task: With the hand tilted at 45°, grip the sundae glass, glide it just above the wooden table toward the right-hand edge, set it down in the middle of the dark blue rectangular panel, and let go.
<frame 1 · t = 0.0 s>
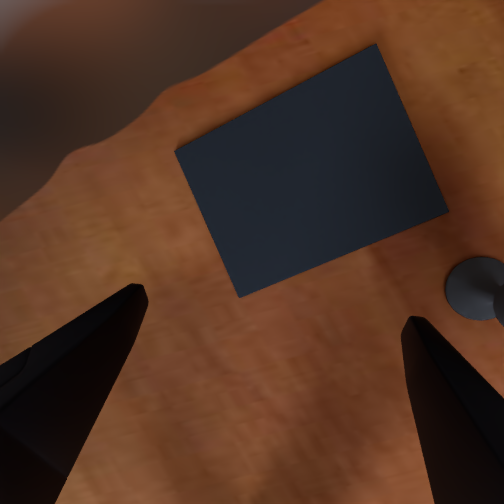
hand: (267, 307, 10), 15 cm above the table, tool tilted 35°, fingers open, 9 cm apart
sundae: (478, 288, 22), on the table
dark blue rectangular panel: (302, 179, 24), on the table
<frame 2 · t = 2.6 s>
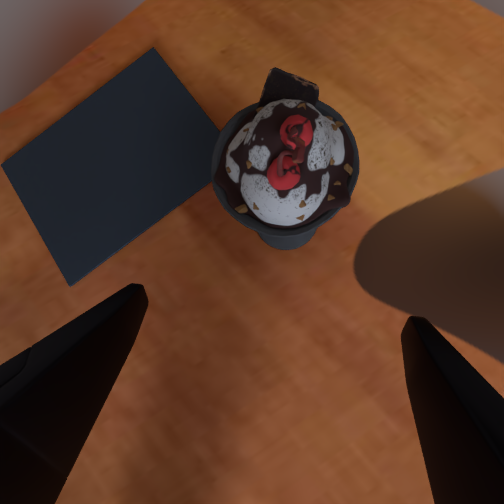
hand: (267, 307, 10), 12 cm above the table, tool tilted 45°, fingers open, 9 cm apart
sundae: (286, 220, 23), on the table
dark blue rectangular panel: (114, 162, 26), on the table
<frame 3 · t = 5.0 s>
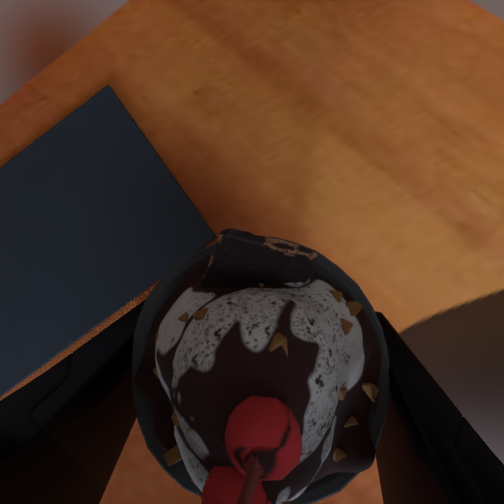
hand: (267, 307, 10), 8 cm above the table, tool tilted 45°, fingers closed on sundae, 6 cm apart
sundae: (275, 323, 17), on the table, touching gripper
dark blue rectangular panel: (55, 235, 20), on the table
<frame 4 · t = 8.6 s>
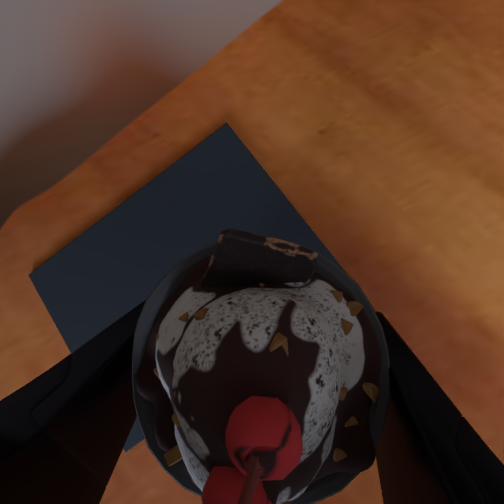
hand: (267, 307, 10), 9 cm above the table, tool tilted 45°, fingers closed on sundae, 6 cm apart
sundae: (275, 323, 17), point 1 cm above the table, touching gripper
dark blue rectangular panel: (179, 279, 19), on the table
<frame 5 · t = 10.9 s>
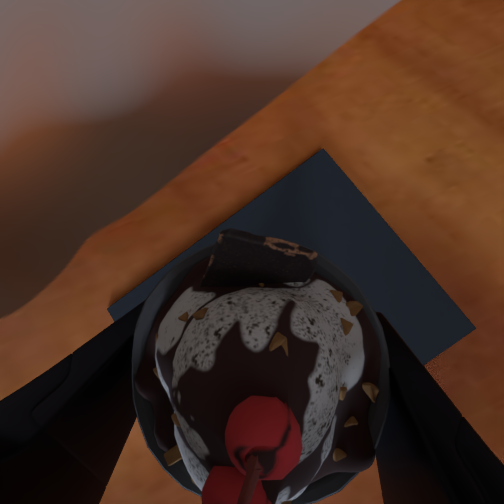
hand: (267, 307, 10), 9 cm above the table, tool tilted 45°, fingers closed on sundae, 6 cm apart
sundae: (275, 323, 17), point 1 cm above the table, touching gripper
dark blue rectangular panel: (275, 317, 18), on the table
when the fingers open (8 cm above the table, at t = 12.5 s): sundae stays where it is, resting on dark blue rectangular panel.
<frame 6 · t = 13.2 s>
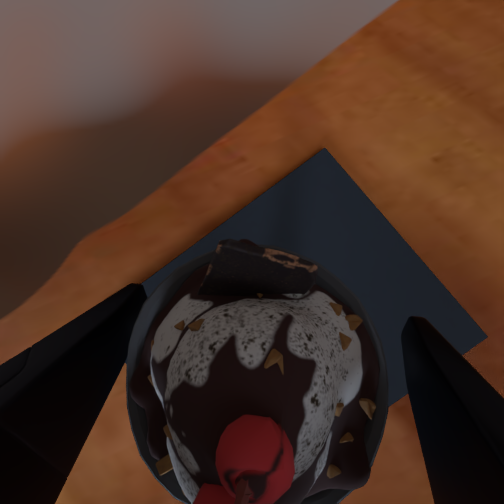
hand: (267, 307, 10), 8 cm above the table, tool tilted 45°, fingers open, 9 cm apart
sundae: (274, 327, 17), resting on dark blue rectangular panel
dark blue rectangular panel: (275, 324, 17), on the table
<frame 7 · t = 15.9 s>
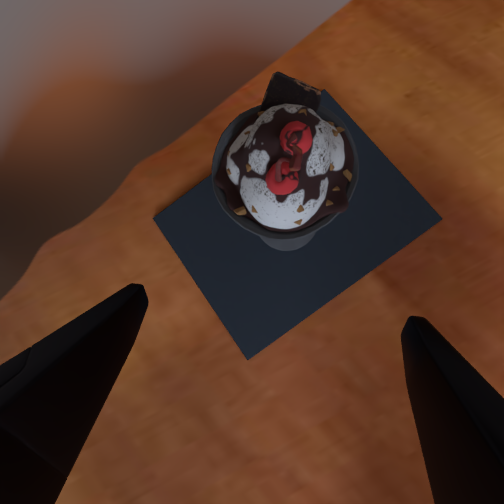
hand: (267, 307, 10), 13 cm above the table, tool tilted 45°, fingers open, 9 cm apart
sundae: (287, 221, 23), resting on dark blue rectangular panel
dark blue rectangular panel: (287, 219, 23), on the table
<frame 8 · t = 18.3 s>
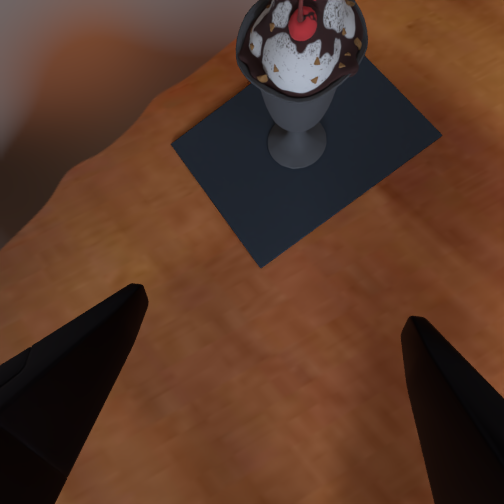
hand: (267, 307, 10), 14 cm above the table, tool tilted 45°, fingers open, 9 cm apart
sundae: (297, 143, 25), resting on dark blue rectangular panel
dark blue rectangular panel: (297, 141, 25), on the table
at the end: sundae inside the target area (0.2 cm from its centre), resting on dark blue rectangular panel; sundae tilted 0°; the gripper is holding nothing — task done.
